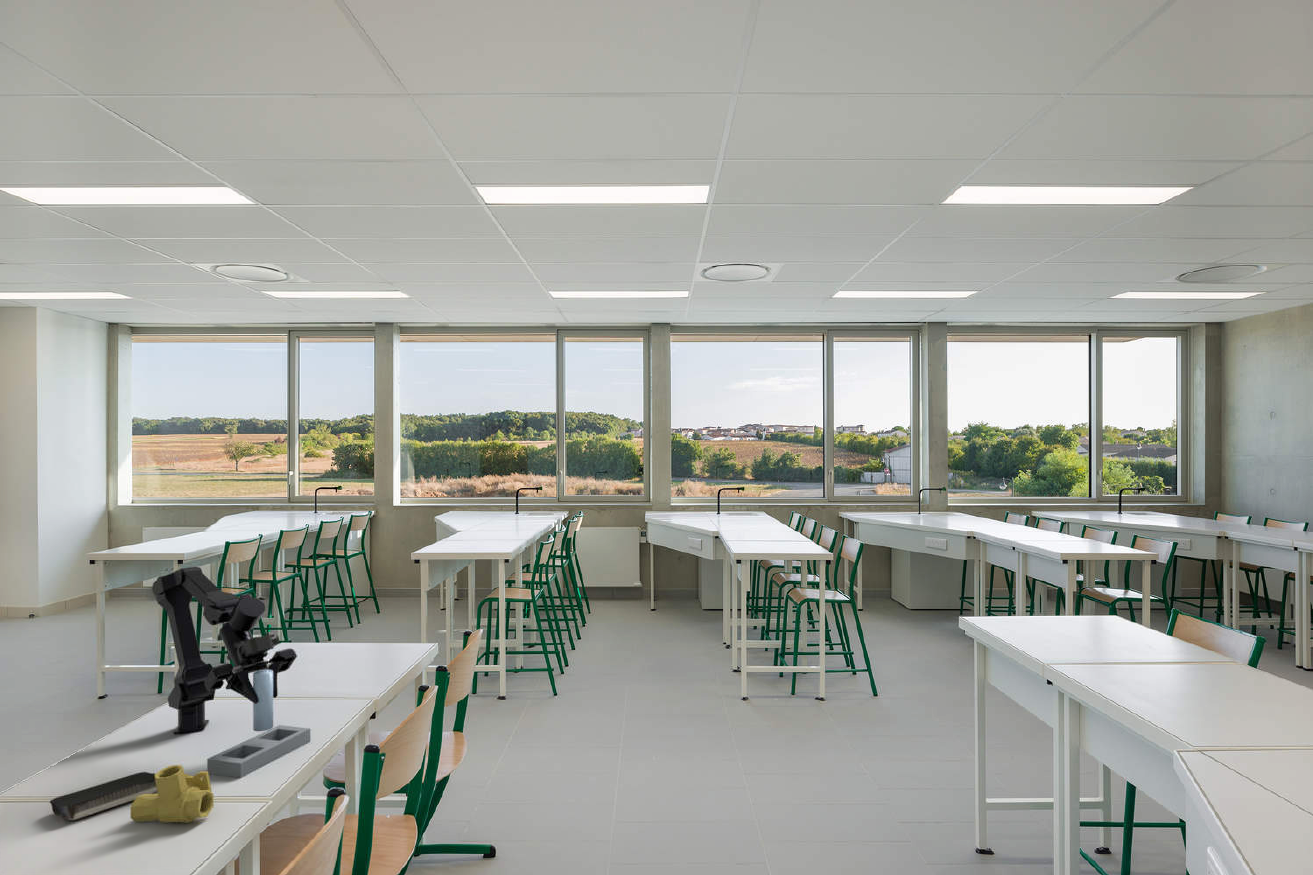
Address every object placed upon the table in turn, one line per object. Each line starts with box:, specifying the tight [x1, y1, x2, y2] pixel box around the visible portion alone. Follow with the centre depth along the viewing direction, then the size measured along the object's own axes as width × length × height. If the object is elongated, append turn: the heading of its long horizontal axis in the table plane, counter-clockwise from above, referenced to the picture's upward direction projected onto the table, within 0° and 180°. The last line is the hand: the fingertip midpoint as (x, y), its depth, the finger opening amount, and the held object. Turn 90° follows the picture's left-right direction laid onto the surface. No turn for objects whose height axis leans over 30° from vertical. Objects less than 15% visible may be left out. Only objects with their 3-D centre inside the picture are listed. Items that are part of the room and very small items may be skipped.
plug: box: [252, 670, 274, 732], centre depth 168 cm, size 4×4×12 cm
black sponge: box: [49, 771, 157, 821], centre depth 146 cm, size 16×8×4 cm, turn 144°
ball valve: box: [130, 764, 214, 824], centre depth 141 cm, size 13×10×10 cm
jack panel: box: [206, 724, 311, 779], centre depth 167 cm, size 20×9×3 cm, turn 163°
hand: (266, 699), depth 167 cm, fingers closed on plug, 4 cm apart
